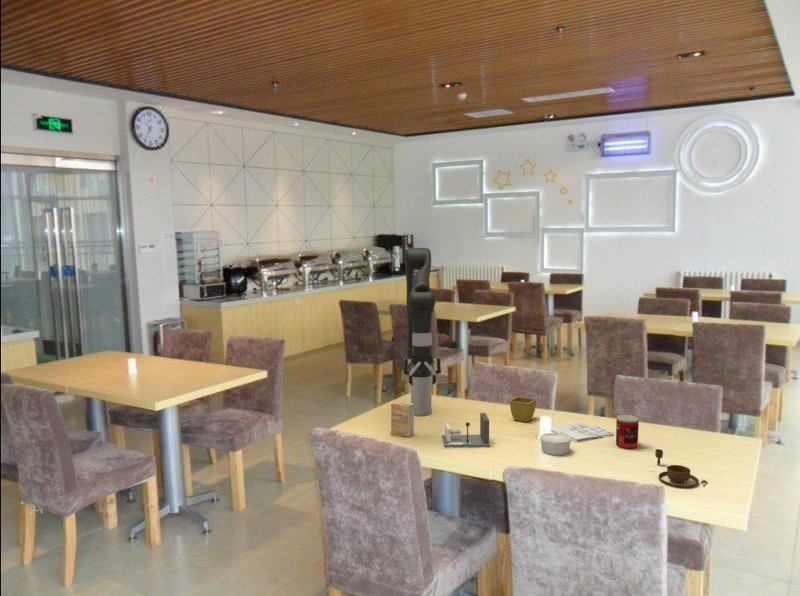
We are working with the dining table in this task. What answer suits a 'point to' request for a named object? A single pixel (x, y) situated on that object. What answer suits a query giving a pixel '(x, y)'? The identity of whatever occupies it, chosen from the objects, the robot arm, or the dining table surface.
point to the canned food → (627, 431)
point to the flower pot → (522, 408)
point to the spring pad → (450, 432)
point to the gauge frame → (471, 436)
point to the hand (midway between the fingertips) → (422, 384)
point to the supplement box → (402, 418)
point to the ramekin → (555, 443)
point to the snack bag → (580, 431)
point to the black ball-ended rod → (467, 431)
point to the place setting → (676, 474)
